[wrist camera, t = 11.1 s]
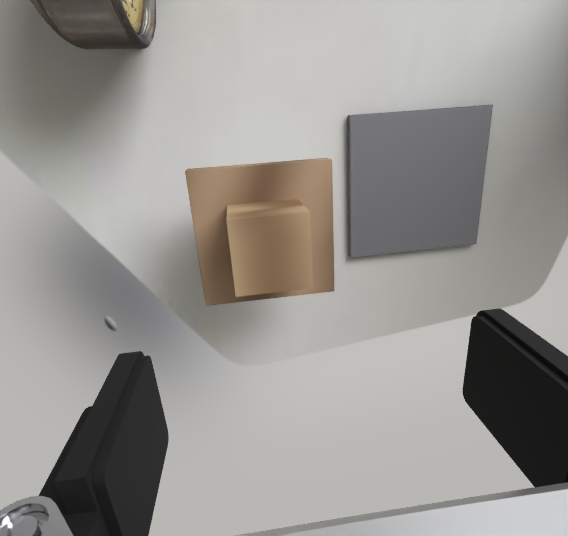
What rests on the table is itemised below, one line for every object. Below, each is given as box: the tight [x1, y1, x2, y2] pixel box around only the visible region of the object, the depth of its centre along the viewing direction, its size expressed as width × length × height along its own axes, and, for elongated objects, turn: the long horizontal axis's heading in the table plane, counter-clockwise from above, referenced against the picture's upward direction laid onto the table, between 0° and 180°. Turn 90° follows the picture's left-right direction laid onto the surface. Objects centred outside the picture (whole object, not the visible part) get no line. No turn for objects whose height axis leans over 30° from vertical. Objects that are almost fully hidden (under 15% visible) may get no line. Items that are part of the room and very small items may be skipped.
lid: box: [185, 158, 334, 306], centre depth 24 cm, size 9×9×5 cm
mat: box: [348, 105, 493, 258], centre depth 33 cm, size 12×12×1 cm
